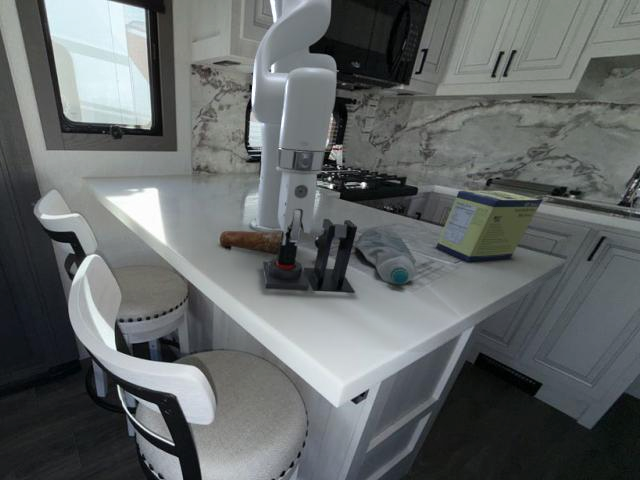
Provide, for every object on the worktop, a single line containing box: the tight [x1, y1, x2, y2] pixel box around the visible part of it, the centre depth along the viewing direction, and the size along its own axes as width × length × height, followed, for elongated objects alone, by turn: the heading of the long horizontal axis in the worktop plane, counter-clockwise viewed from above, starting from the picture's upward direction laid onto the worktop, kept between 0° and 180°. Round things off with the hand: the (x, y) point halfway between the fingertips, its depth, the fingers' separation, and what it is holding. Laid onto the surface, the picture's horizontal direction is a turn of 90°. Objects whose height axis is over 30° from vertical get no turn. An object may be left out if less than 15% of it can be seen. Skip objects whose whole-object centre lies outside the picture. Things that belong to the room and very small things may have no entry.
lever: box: [314, 223, 347, 249], centre depth 62 cm, size 13×3×3 cm, turn 0°
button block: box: [261, 257, 310, 291], centre depth 61 cm, size 10×8×4 cm
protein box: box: [435, 190, 543, 263], centre depth 80 cm, size 10×16×16 cm
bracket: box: [303, 218, 358, 294], centre depth 59 cm, size 10×8×13 cm
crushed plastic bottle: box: [355, 226, 417, 285], centre depth 69 cm, size 13×7×25 cm
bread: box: [219, 230, 281, 255], centre depth 75 cm, size 6×19×6 cm, turn 71°
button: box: [276, 261, 295, 269], centre depth 61 cm, size 4×4×2 cm
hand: (285, 263), depth 60 cm, fingers closed
